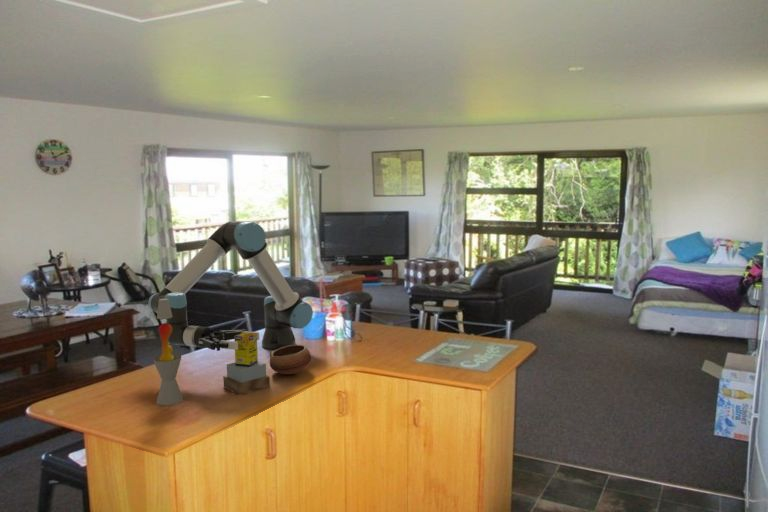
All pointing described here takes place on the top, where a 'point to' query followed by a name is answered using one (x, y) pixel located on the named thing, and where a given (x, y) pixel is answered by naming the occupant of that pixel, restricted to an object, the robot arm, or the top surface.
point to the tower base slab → (246, 385)
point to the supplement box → (246, 349)
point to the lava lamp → (167, 360)
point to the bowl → (290, 359)
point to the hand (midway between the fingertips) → (248, 340)
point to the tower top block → (246, 372)
